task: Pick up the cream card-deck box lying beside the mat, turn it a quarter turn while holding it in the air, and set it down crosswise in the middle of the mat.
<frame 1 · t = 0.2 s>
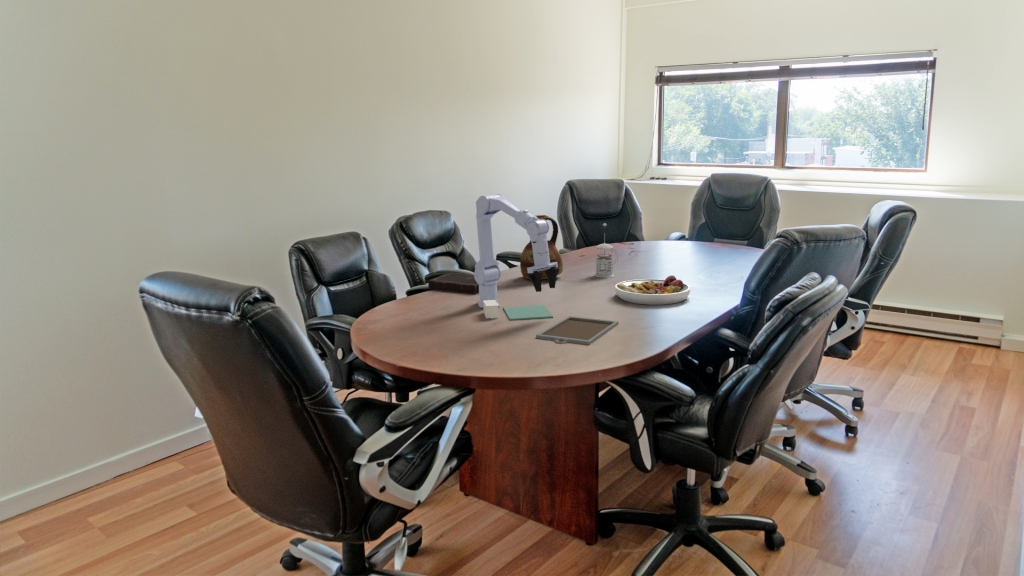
hand: (545, 289, 251), 11 cm above the table, tool pointing down, fingers open, 7 cm apart
card box: (491, 315, 258), on the table
clipboard: (577, 333, 234), on the table
ceramic pitcher: (541, 278, 324), on the table
mat: (527, 313, 260), on the table
bowl: (651, 298, 281), on the table
french press: (606, 275, 327), on the table
diary: (463, 289, 308), on the table
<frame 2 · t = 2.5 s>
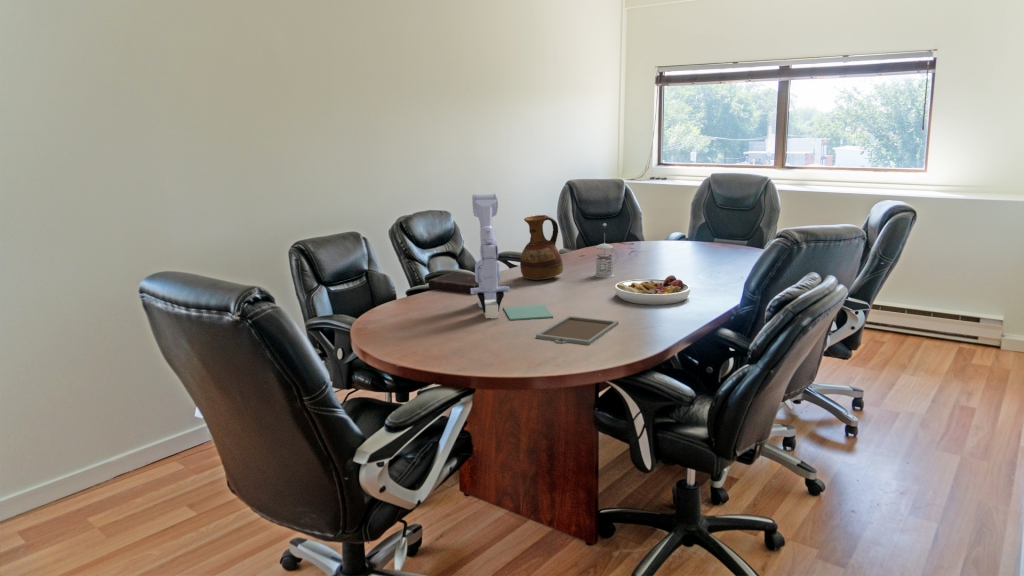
hand: (490, 311, 258), 1 cm above the table, tool pointing down, fingers closed on card box, 4 cm apart
card box: (490, 315, 258), on the table, touching gripper
everything else where it was.
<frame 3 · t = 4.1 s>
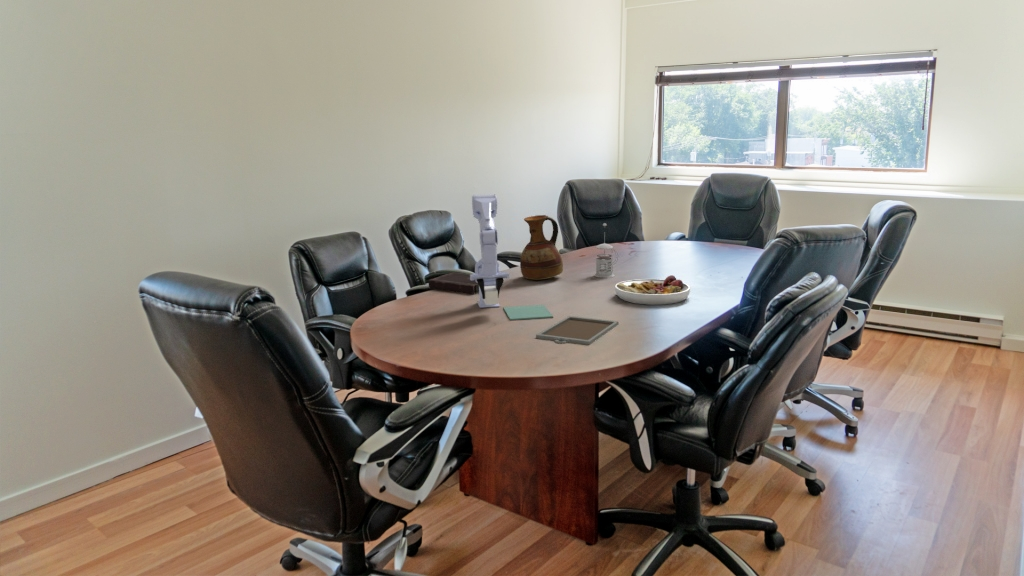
hand: (490, 298, 257), 7 cm above the table, tool pointing down, fingers closed on card box, 4 cm apart
card box: (490, 301, 257), point 5 cm above the table, touching gripper
everything else where it was.
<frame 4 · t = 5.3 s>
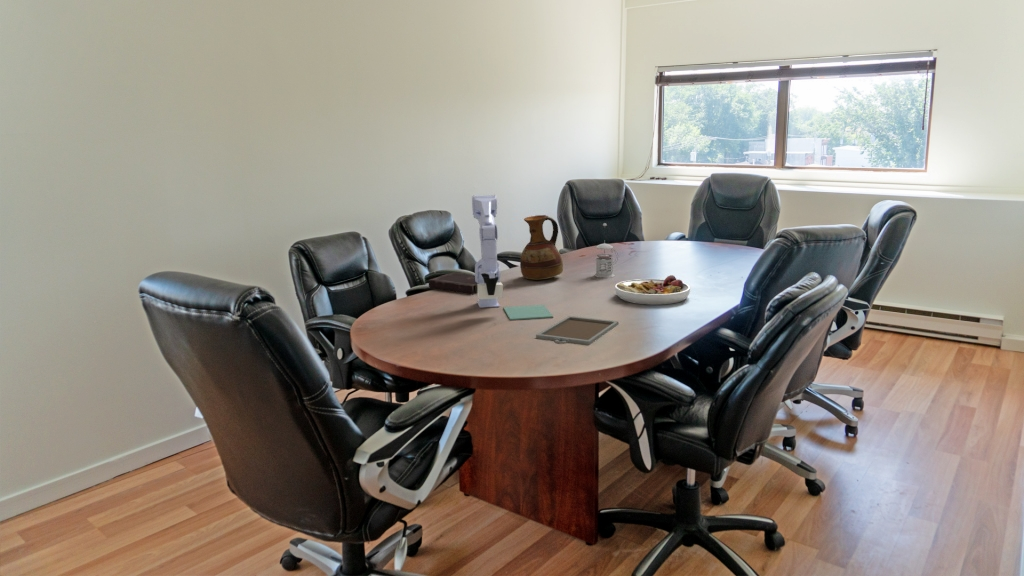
hand: (490, 293, 257), 8 cm above the table, tool pointing down, fingers closed on card box, 4 cm apart
card box: (490, 297, 257), point 7 cm above the table, touching gripper
everything else where it was.
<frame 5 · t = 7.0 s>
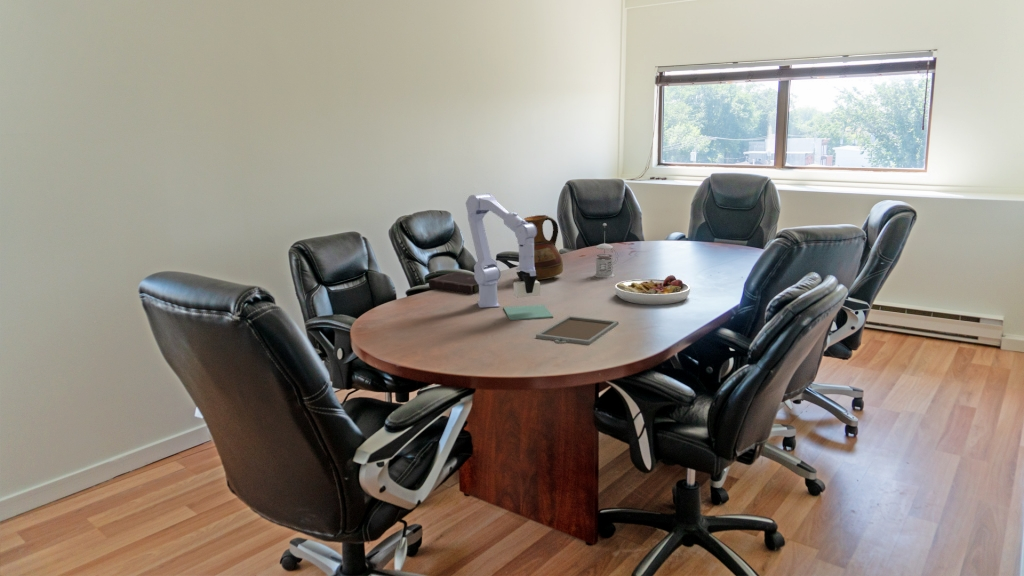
hand: (527, 291, 259), 8 cm above the table, tool pointing down, fingers closed on card box, 4 cm apart
card box: (527, 295, 259), point 7 cm above the table, touching gripper
everything else where it was.
when the fingers open (4 cm above the table, at t = 8.5 s): card box drops 2 cm, resting on mat.
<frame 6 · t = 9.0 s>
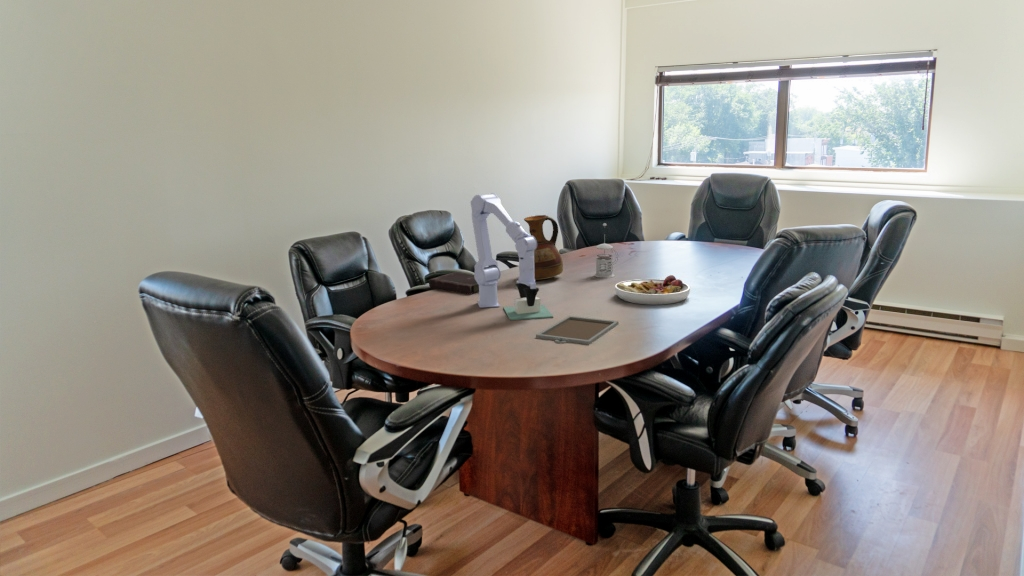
hand: (527, 303, 260), 4 cm above the table, tool pointing down, fingers open, 7 cm apart
card box: (527, 311, 260), point 1 cm above the table, touching mat
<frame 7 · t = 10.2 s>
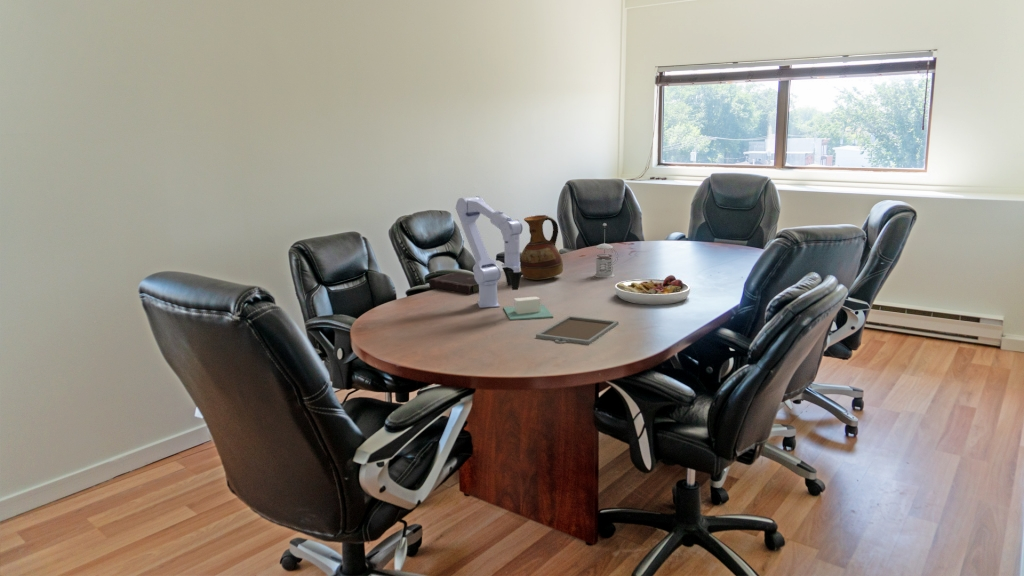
hand: (512, 287, 262), 9 cm above the table, tool pointing down, fingers open, 7 cm apart
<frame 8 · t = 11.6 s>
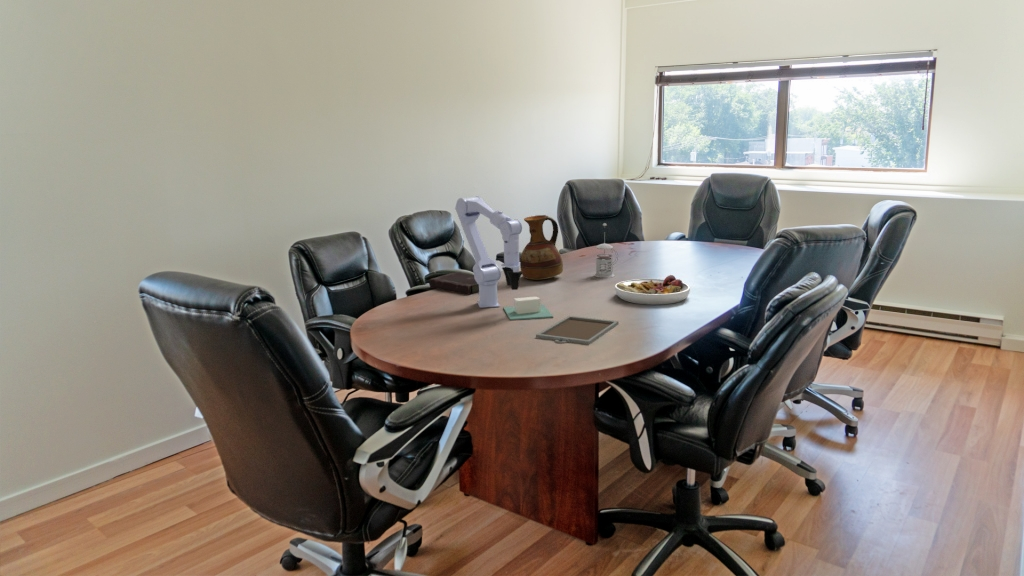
hand: (512, 287, 262), 9 cm above the table, tool pointing down, fingers open, 7 cm apart
at the end: card box inside the target area on the mat (0.1 cm from its centre), point 0.6 cm above the mat's base; card box tilted 0°; the gripper is holding nothing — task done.
